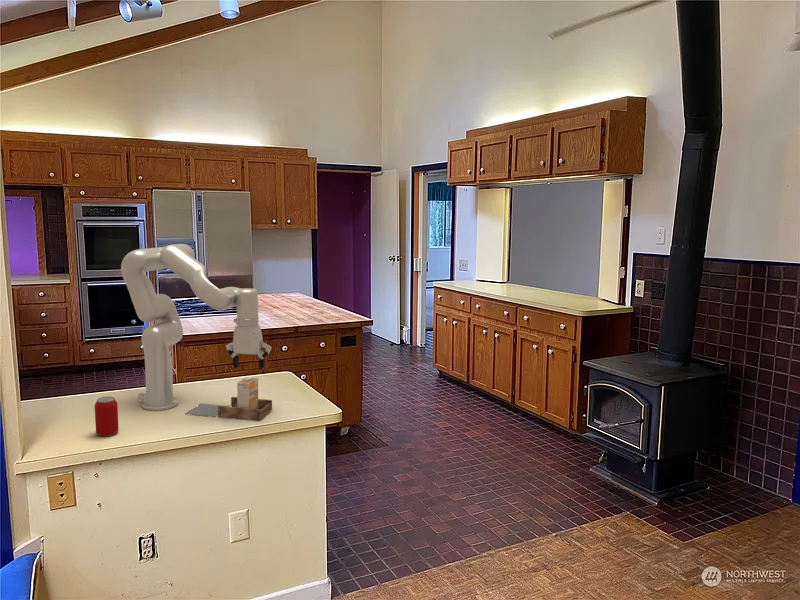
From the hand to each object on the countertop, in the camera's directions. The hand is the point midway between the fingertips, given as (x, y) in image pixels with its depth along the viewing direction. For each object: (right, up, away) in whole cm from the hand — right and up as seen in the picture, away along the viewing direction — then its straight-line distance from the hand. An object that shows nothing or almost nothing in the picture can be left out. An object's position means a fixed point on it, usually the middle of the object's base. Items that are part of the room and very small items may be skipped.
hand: (248, 368), depth 215 cm
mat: (-17, -17, +5) cm, 24 cm away
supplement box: (-1, -18, +3) cm, 18 cm away
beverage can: (-42, -20, -20) cm, 51 cm away
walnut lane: (-2, -17, +3) cm, 18 cm away
